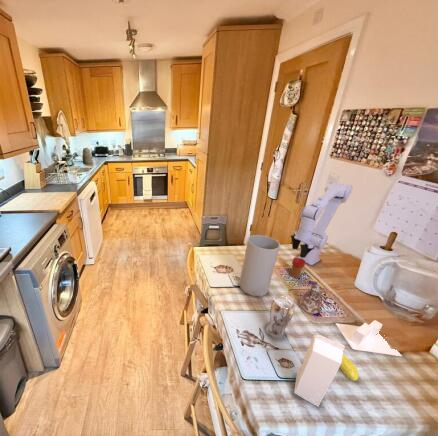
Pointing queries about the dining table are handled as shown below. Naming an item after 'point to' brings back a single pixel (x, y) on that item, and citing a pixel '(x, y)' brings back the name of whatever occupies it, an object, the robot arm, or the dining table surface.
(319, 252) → the robot arm
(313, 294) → the figurine
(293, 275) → the spice jar
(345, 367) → the lemon
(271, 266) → the cylinder vase
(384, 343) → the napkin holder
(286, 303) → the beer glass
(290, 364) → the dining table surface
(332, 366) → the milk
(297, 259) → the spice lid
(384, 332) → the dining table surface
